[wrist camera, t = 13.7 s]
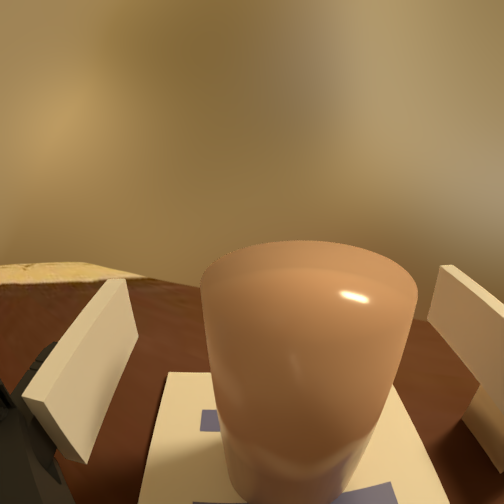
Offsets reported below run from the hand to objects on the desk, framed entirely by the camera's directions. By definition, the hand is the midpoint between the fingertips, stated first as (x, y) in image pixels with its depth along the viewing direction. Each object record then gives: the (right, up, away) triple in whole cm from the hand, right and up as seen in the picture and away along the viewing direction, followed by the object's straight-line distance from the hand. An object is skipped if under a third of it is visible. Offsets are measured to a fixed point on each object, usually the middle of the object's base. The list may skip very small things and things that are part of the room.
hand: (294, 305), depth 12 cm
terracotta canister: (0, -8, 0) cm, 8 cm away
